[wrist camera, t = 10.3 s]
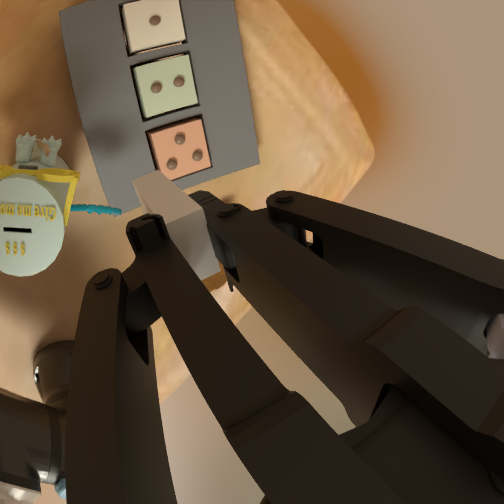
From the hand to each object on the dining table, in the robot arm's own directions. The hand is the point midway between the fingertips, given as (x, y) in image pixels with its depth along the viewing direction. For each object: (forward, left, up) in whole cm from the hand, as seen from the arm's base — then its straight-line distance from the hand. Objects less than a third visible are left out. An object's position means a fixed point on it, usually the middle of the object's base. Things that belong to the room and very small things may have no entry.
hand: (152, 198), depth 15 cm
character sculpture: (-11, 0, -22) cm, 24 cm away
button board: (+6, +5, -22) cm, 23 cm away
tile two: (+6, +5, -21) cm, 23 cm away
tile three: (+6, -3, -21) cm, 22 cm away
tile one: (+6, +13, -21) cm, 26 cm away
